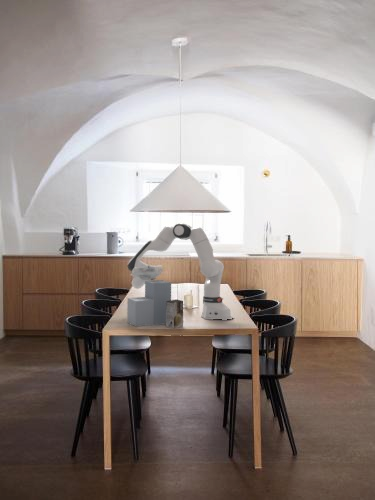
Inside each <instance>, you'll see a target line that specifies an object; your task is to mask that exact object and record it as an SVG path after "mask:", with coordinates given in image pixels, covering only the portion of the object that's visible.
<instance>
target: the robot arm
mask: <svg viewBox="0 0 375 500" xmlns="http://www.w3.org/2000/svg"><path fill="white" fill-rule="evenodd" d="M175 239H179V240H183V241H184V240H185V241H187V240H190V241H191V243H192V245H193V248H194V250H195V252H196V254H197V257H198V262H199V267H200V273H201V275H203V276H204V277H205V282H204V285H203V297H202V305H203V306H202V310H201V314H200V317H201V318H203V319H205V320H213V319H222V320H221V321H228V320H227V319H231V318H233V317H234V318H235V316H234V315H232V313H231V308H230V307H228V306H227V305H226V304H225V303H224V302H223V300H224V297H221V281H222V278H223V272H224V268H225V266H224V263H223V262H222V261H221V260H219V259H215V257H214V253H213V252H214V249H213V247H212V245H211V243H210V240H209V238H208V236H207V233H205V231H204V229H203V228H202V227H200V226H197V227H192V226H190V225H189V224H187V223H185V222H178V223H176V224H175V225H174V226H172V225H169V224H168V225H166V226H164V227H163V228H162V229H161V231H160V232H159V234H158V235H157V236H156V238H154V239H152V240H149V241H147V242H146V243H145V244H144V245H143V246H142V247H141V249H140V250H138V252H137V253H136V254H135V255H134V256H133V257H132V258H130V259H129V261H128V263H127V265H126V266H127V269H128V271H130V272H131V273H130V274H129V276H131V277H133V278H132V280H131V286H132V287H133V288H134V289H141V288H143V286H145V281H155V280H156V279H157V277H160V275H161V274H162V272H163V271H162V272H159V271H154V270H149V266H147V265H148V263H145V262H144V261H142V260H141V259H142V257H143V256H144V255H145V254H146V252H148V251H154V252H160V253H161V252H163V253H164V252H165V251H167V250H168V249H169V248H170V247H171V245H172V243H173V241H175ZM234 318H233V319H234ZM231 320H232V319H231Z"/></svg>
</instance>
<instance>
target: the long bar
mask: <svg viewBox="0 0 375 500" xmlns="http://www.w3.org/2000/svg"><path fill="white" fill-rule="evenodd" d="M147 266H149V270H154V271H159V272H163V270H164V267H163V265H160V264H159V265H157V264H156V265H151V264H147Z"/></svg>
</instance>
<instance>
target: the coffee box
mask: <svg viewBox="0 0 375 500" xmlns="http://www.w3.org/2000/svg"><path fill="white" fill-rule="evenodd" d="M165 325H166V326H165V327H166V328H170V329H177V328H180V327H181V328H182V327H183V326H184V300H181V299H171V300H170V301H167V314H166V324H165Z"/></svg>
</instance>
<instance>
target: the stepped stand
mask: <svg viewBox="0 0 375 500" xmlns="http://www.w3.org/2000/svg"><path fill="white" fill-rule="evenodd" d="M144 287H145V288H144V296H139V297H127V306H126V308H127V309H126V310H127V312H126V313H127V315H126V317H127V318H126V320H127V321H126V322H127V323H128V324H130V325H132V326H134V327H141V326H142V327H143V326H144V327H145V326H154V325H166V314H167V301H170V300H172V282H170V281H167V280H160V279H159V280H156V279H154V280H150V281H145V284H144Z"/></svg>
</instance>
